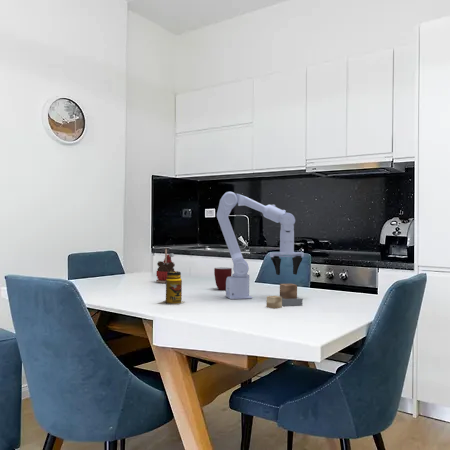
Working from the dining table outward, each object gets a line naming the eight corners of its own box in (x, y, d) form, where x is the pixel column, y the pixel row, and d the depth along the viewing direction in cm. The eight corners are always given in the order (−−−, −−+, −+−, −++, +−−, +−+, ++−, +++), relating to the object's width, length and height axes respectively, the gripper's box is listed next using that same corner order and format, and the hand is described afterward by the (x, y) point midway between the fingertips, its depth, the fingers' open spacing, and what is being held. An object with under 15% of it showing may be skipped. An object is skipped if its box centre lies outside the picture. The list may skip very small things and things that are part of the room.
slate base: (283, 306, 175) (283, 299, 175) (274, 302, 183) (274, 296, 183) (302, 305, 177) (302, 298, 177) (293, 302, 185) (293, 295, 185)
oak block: (273, 308, 170) (274, 297, 170) (266, 307, 173) (266, 296, 173) (281, 307, 172) (281, 296, 172) (274, 306, 176) (274, 295, 176)
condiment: (178, 305, 175) (178, 273, 175) (157, 303, 178) (157, 272, 178) (185, 302, 182) (185, 271, 182) (165, 300, 185) (166, 270, 185)
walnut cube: (285, 298, 177) (285, 285, 177) (279, 296, 182) (279, 283, 182) (297, 298, 178) (297, 285, 178) (291, 296, 183) (291, 283, 183)
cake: (151, 282, 240) (152, 247, 240) (164, 280, 247) (164, 246, 247) (167, 284, 234) (167, 248, 234) (179, 282, 241) (179, 247, 241)
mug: (207, 288, 220) (208, 267, 220) (221, 287, 225) (221, 266, 225) (220, 291, 211) (221, 269, 211) (234, 290, 216) (235, 268, 216)
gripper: (274, 242, 188) (274, 275, 188) (307, 242, 192) (306, 275, 192) (267, 241, 195) (267, 274, 195) (299, 241, 199) (299, 273, 199)
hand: (286, 274), depth 194 cm, fingers open, 7 cm apart
